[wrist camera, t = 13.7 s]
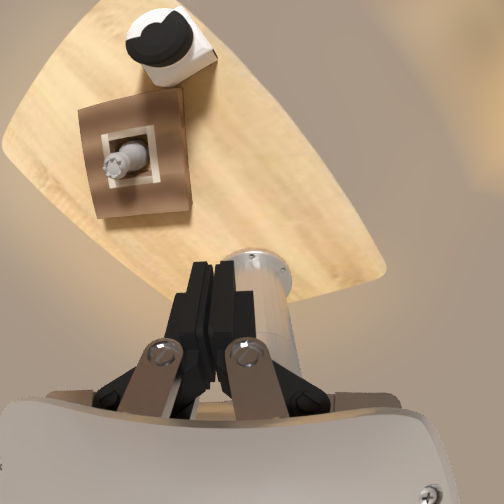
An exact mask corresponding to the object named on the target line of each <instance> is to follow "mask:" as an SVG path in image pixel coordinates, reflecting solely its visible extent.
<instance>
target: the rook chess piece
mask: <svg viewBox="0 0 504 504" xmlns="http://www.w3.org/2000/svg"><path fill="white" fill-rule="evenodd" d="M149 157H150V155H149V148H148V146H147V145H146V144H145V143H144V142H143V141H141V140H138V139H132V140H129V141H127V142H126V143H124V144H123V145H122V147H121V148H120V149H119V152H116V153H111V154H109V155H108V156H107V157H106V159H105V160H104V167H103V171H105V173H106V176H107V177H110V178H111V179H114V180H116V179H121V178H122V177H124V176H125V174H126V173H127V172H128V171H138V170H140V169H141V168H143V167H145V165H146V164H147V163H148V161H149Z"/></svg>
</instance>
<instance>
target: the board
mask: <svg viewBox="0 0 504 504" xmlns="http://www.w3.org/2000/svg"><path fill="white" fill-rule="evenodd" d="M78 117H79V126H80V134H81V141H82V148H83V154H84V160H85V166H86V171H87V176H88V181H89V186H90V191H91V195H92V200H93V204H94V208H95V212H96V216H97V219H103V218H112V217H122V216H132V215H143V214H155V213H167V212H181V211H189V210H190V208H191V205H192V203H193V202H192V193H191V185H190V175H189V166H188V155H187V144H186V133H185V120H184V106H183V89H182V88H172V89H165V90H159V91H153V92H148V93H143V94H138V95H133V96H129V97H124V98H120V99H116V100H112V101H108V102H104V103H100V104H97V105H93V106H90V107H86V108H83V109H80V110H78ZM142 134H147V138H148V147H149V155H150V162H151V170H152V171H144V172H137V173H130V174H125V176H124V177H122V178H121V179H116V180H114V179H111V178H110V177H107V176H106V173H105V171H103V167H104V160H105V159H106V157H107V156H108V155H109V154H111V153H116V152H119V144H118V139H120V138H125V137H131V136H136V135H142Z"/></svg>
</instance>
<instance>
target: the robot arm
mask: <svg viewBox="0 0 504 504" xmlns="http://www.w3.org/2000/svg"><path fill="white" fill-rule="evenodd" d="M291 286H292V276H291V272H290V270H289V267H288V265H287V264H286V263H285V261H284V260H283V259H281V258H280V257H279V256H278V255H276V254H274V253H272V252H269V251H266V250H261V249H246V250H241V251H238V252H235V253H233V254H231V255H229V256H228V257H227V258H225V259H224V260H223V261H221V262H220V264H216V266H215V274H213V267H212V265H208V263H207V261H205V262H194V263H193V266H192V270H191V274H190V279H189V283H188V287H187V291H186V293H176V295H175V298H174V302H173V305H172V309H171V313H170V317H169V321H168V325H167V329H166V333H165V336H164V338H161V339H157V340H155V341H152V342H151V343H150V344H148V346H147V347H146V348H145V350H144V351H143V353H142V356H141V358H140V360H139V362H138V364H137V366H136V367H134V368H133V369H131V370H130V371H128V372H126V373H125V374H123V375H122V376H120V377H119V378H117V379H115V380H113V381H112V382H110V383H109V384H107V385H105V386H104V387H102V388H101V389H100V390H98V391H97V392H94V391H93V390H75V391H53V392H51V393H49V394H48V395H47V396H46V397H45V398H44V397H27V398H21V399H17V400H14V401H12V402H11V403H9V404H8V405H7V406H6V408H5V409H4V410H3V412H2V414H1V415H0V504H461V502H460V498H459V493H458V489H457V485H456V481H455V477H454V474H453V470H452V467H451V464H450V461H449V458H448V455H447V453H446V450H445V447H444V445H443V443H442V440H441V438H440V436H439V434H438V432H437V431H436V429H435V427H434V426H433V424H432V423H431V422H430V420H429V419H428V418H426V417H425V416H424V415H422V414H420V413H418V412H415V411H411V410H407V409H402V407H401V404H400V401H399V400H398V399H397V397H396V396H394V395H392V394H389V393H349V392H335V394H326V393H325V392H323V391H322V390H321V389H319V388H317V387H316V386H314V385H312V384H310V383H309V382H307V381H306V380H304V379H302V375H301V370H300V365H299V360H298V356H297V350H296V345H295V340H294V335H293V330H292V325H291V320H290V315H289V310H288V305H287V300H286V298H287V296H288V295H289V293H290V290H291ZM216 372H217V377H218V381H219V382H220V383H221V387H222V391H223V392H224V393H225V394H227V395H228V396H229V397H230V398H231V399H232V401H225V402H201V403H199V396H200V395H201V394H202V393H204V392H205V391H206V389H210V382H215V375H216Z"/></svg>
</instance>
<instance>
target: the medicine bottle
mask: <svg viewBox="0 0 504 504" xmlns="http://www.w3.org/2000/svg"><path fill="white" fill-rule="evenodd" d="M126 49H127V52H128V54H129V55H130V57H131V58H132V59H133V60H135V61H136V62H138V63H140V64H141V65H142V67H143V68H144V70H145V71H146V72H147V74H148V75H149V77H150V78H151V80H152V81H153V83H154V84H155V85H157V86H163V87H170V88H172V87H174V86H176V85H177V84H179V83H180V82H182V81H183V80H185V79H187V78H188V77H190V76H191V75H193V74H195V73H196V72H198V71H199V70H201V69H203V68H205V67H206V66H208V65H210V64H211V63H213V62H215V61H217V60H218V57H217V55H216V53H215V51H214V49H213V48H212V46H211V45H210V43H209V42H208V40H207V39H206V38H205V36H204V35H203V33H202V32H201V31H200V29H199V28H198V26H197V25H196V24H195V22H194V21H193V20H192V18H191V17H190V16H189V14H188V13H187V12H186V10H185V9H184V8H183V7H182V6H179V7H177V8H175V9H173V10H172V9H166V8H162V9H155V10H152V11H149V12H147V13H145V14H143V15H142V16H140V17H139V18H138V19H137V20H136V21H135V22H134V23H133V24H132V25H131V27H130V29H129V31H128V33H127V36H126Z"/></svg>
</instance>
